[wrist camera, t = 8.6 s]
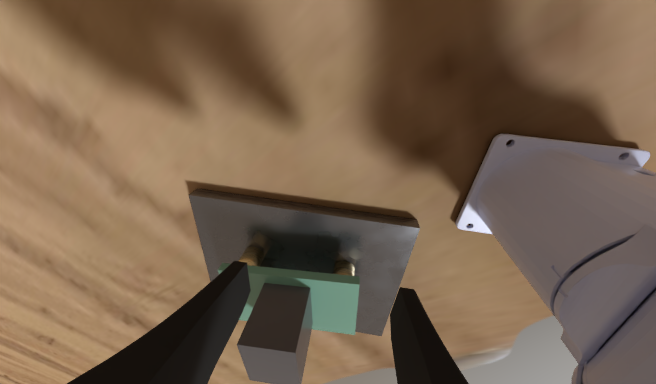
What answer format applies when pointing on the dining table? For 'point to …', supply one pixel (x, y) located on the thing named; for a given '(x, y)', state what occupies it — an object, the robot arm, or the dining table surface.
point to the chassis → (309, 244)
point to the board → (324, 295)
